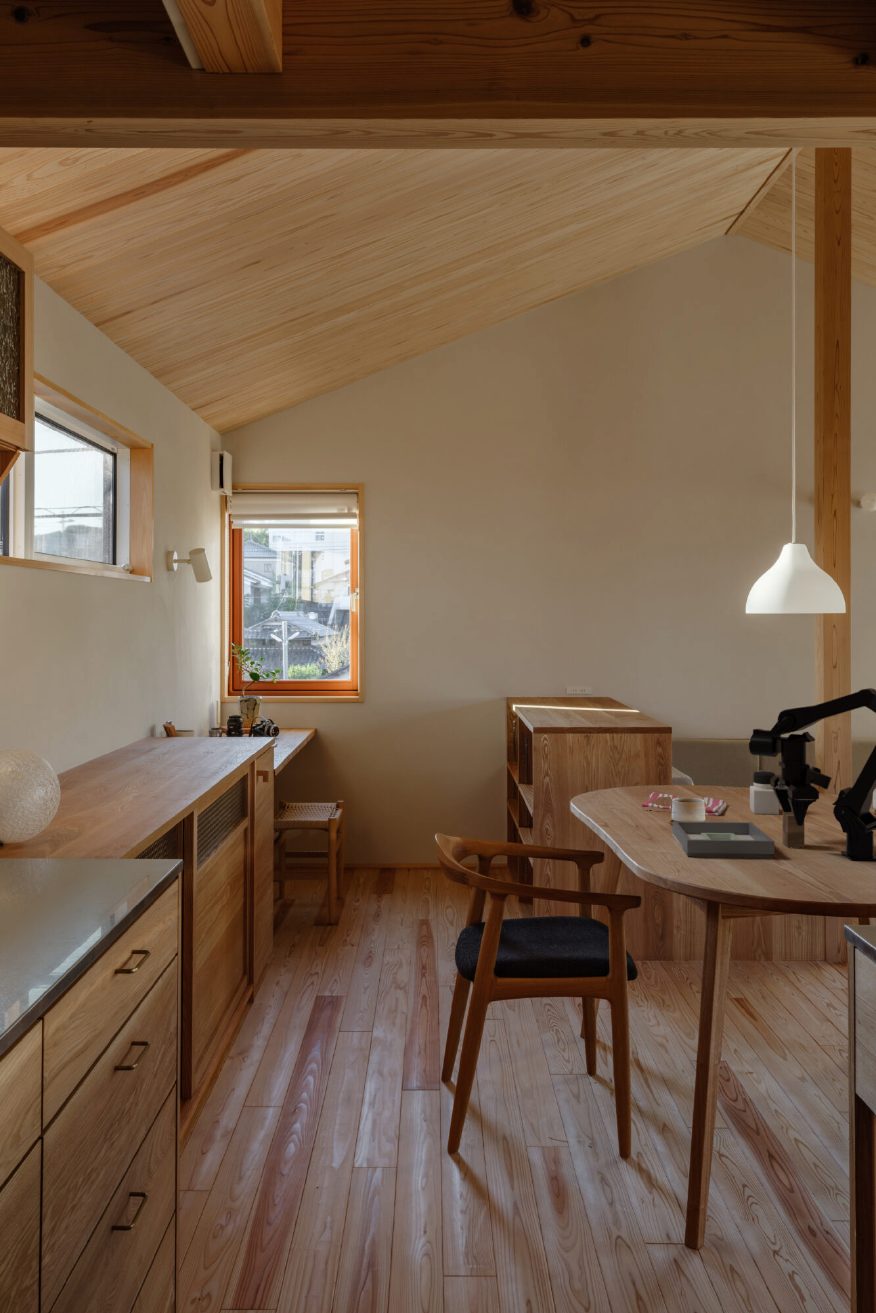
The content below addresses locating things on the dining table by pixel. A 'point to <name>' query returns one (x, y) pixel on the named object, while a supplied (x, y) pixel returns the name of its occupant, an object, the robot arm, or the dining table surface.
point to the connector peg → (792, 831)
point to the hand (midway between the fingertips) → (793, 821)
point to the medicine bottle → (763, 794)
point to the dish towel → (712, 804)
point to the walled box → (723, 839)
